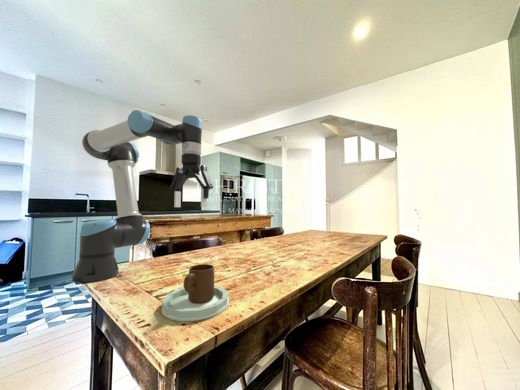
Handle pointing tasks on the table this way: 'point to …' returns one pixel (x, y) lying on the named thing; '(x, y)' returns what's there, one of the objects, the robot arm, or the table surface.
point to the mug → (200, 283)
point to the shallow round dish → (193, 306)
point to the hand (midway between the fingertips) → (190, 207)
